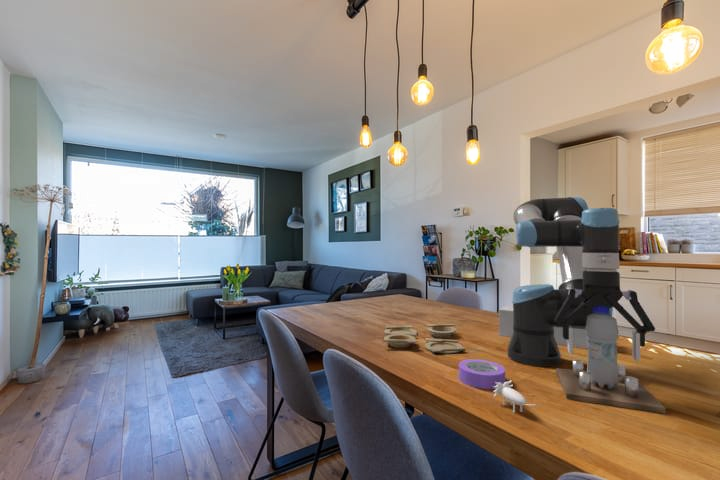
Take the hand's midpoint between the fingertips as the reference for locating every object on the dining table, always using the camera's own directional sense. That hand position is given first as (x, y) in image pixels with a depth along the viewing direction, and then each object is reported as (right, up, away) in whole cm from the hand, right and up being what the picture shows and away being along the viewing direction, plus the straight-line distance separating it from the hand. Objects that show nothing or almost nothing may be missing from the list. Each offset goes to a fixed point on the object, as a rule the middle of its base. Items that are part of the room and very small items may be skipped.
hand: (602, 355), depth 83 cm
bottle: (0, -7, 0) cm, 7 cm away
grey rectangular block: (+12, -10, +46) cm, 49 cm away
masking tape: (-28, -9, +6) cm, 30 cm away
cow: (-26, -8, -11) cm, 30 cm away
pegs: (0, -7, 0) cm, 7 cm away
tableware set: (-37, -10, +45) cm, 59 cm away
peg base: (0, -8, 0) cm, 8 cm away
